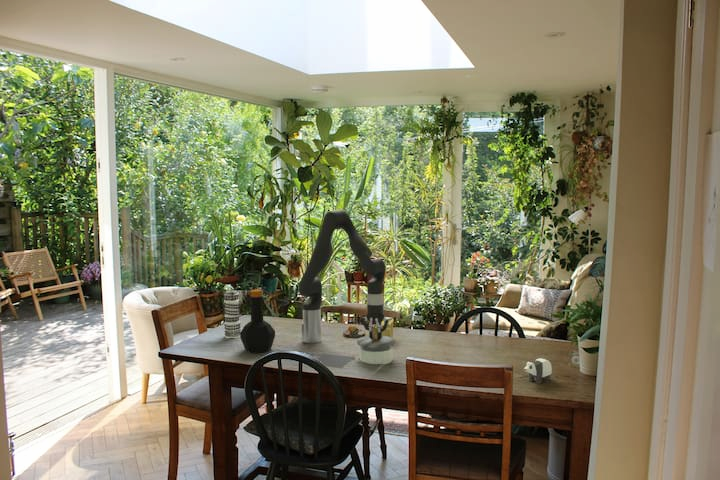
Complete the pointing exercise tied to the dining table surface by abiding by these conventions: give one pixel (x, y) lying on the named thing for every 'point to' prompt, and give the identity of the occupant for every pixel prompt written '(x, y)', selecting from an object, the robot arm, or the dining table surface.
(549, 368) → the giant panda
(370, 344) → the lid
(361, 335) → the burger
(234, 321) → the decorative candle
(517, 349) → the dining table surface
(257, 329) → the bottle
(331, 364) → the mat
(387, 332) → the cheese
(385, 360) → the bowl
